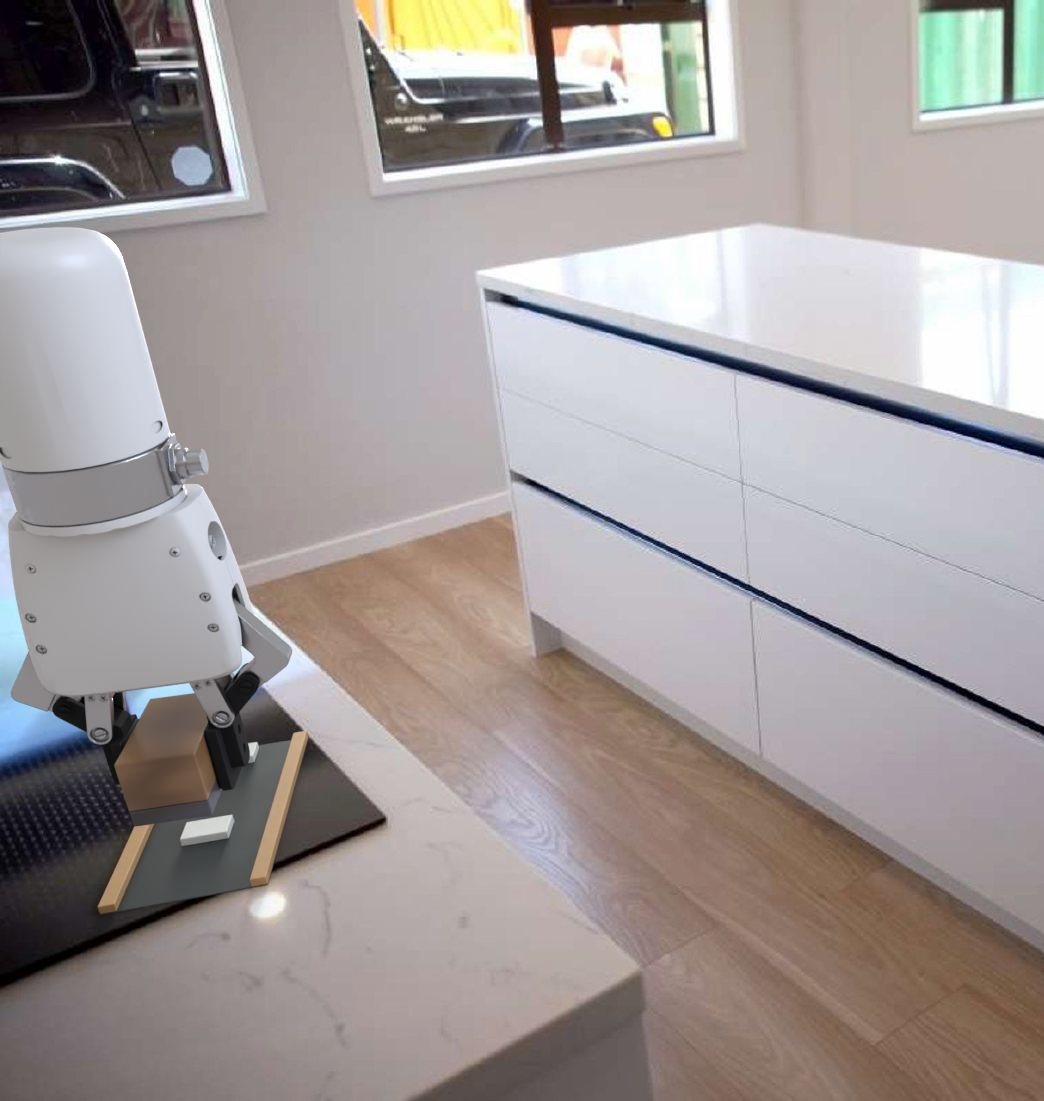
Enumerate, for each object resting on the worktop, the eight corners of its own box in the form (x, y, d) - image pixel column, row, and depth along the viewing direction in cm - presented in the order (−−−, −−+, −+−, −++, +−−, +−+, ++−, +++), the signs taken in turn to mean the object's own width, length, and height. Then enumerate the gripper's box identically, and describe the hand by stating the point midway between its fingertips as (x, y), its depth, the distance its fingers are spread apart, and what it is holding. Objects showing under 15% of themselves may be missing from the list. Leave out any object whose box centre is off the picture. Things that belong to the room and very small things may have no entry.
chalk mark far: (211, 769, 93) (209, 762, 93) (217, 754, 95) (215, 748, 94) (254, 762, 94) (252, 755, 93) (259, 748, 95) (257, 741, 95)
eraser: (133, 827, 67) (113, 765, 66) (167, 756, 74) (149, 698, 72) (212, 815, 68) (194, 753, 66) (239, 746, 74) (223, 688, 73)
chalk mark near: (181, 846, 84) (179, 839, 84) (188, 829, 86) (186, 821, 86) (228, 838, 85) (226, 831, 85) (234, 821, 87) (232, 814, 87)
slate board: (105, 929, 79) (96, 907, 78) (174, 772, 95) (167, 752, 94) (272, 899, 81) (265, 876, 80) (312, 750, 97) (306, 730, 96)
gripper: (285, 440, 68) (351, 727, 76) (-54, 474, 65) (50, 769, 73) (259, 489, 61) (333, 798, 69) (-121, 529, 58) (1, 848, 66)
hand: (187, 780), depth 71 cm, fingers closed on eraser, 4 cm apart
